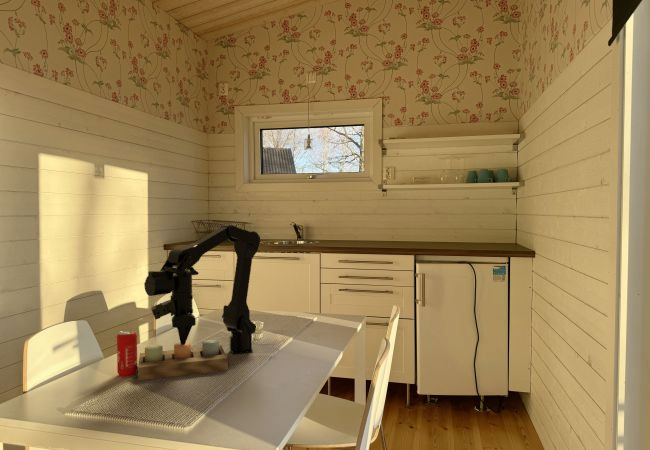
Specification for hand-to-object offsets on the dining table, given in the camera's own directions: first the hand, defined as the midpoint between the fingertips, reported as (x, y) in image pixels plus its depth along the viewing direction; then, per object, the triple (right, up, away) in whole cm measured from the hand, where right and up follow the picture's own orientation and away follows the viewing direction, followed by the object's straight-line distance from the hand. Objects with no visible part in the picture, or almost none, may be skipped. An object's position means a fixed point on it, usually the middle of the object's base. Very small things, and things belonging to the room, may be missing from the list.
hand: (182, 344), depth 139 cm
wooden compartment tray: (0, -7, 0) cm, 7 cm away
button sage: (-8, -4, -3) cm, 9 cm away
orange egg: (0, -4, 0) cm, 4 cm away
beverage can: (-14, -7, -6) cm, 17 cm away
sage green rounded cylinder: (+8, -4, +3) cm, 9 cm away
